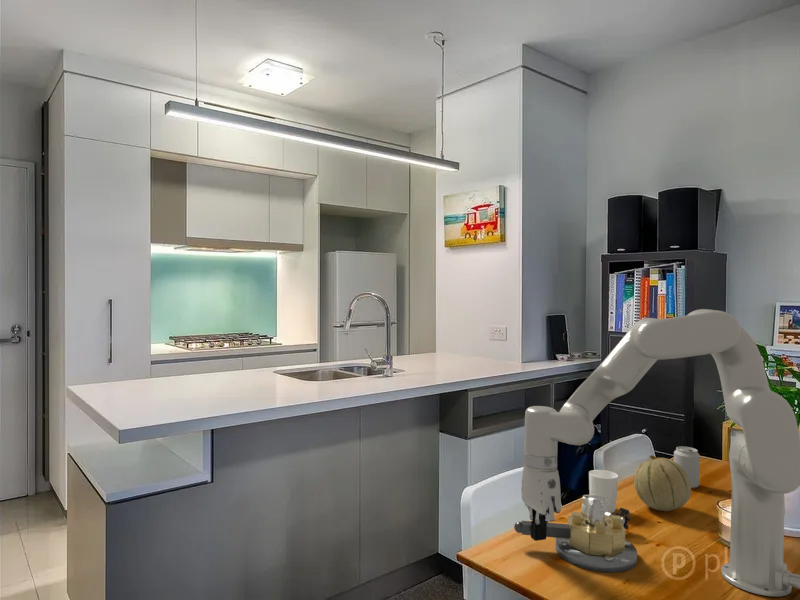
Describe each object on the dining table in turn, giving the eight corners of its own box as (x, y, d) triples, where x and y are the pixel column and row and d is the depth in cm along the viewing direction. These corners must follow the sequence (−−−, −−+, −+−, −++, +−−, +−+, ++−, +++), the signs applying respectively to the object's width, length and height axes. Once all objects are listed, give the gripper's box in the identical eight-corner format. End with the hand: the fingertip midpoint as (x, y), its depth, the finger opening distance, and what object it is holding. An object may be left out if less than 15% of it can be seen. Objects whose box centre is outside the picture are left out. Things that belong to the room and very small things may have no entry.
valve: (575, 521, 147) (616, 538, 138) (575, 497, 147) (617, 511, 138) (589, 516, 151) (630, 531, 142) (589, 492, 151) (630, 505, 142)
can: (704, 489, 174) (704, 452, 174) (680, 489, 174) (681, 451, 174) (691, 481, 181) (692, 445, 181) (668, 481, 181) (669, 445, 181)
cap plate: (648, 553, 130) (649, 498, 130) (618, 581, 117) (619, 520, 116) (576, 530, 142) (577, 479, 142) (541, 553, 129) (542, 497, 129)
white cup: (582, 505, 159) (582, 471, 158) (603, 502, 162) (603, 468, 162) (602, 516, 151) (603, 480, 151) (623, 512, 154) (624, 476, 154)
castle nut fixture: (616, 534, 134) (617, 507, 134) (628, 557, 122) (629, 528, 122) (512, 526, 138) (513, 499, 138) (515, 547, 126) (515, 519, 126)
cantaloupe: (694, 523, 148) (696, 467, 148) (635, 515, 152) (636, 461, 152) (685, 503, 162) (686, 452, 162) (631, 496, 166) (632, 447, 166)
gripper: (573, 469, 122) (571, 551, 122) (536, 450, 136) (534, 524, 136) (544, 471, 120) (542, 555, 120) (509, 452, 134) (508, 527, 134)
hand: (538, 538), depth 128 cm, fingers closed
